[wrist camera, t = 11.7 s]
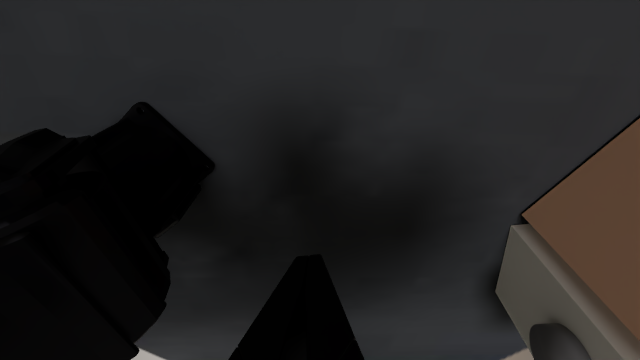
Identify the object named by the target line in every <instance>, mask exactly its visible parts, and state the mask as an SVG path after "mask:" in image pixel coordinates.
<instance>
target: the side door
mask: <svg viewBox="0 0 640 360" xmlns="http://www.w3.org/2000/svg"><path fill="white" fill-rule="evenodd" d="M522 216H523V217H524V218H525V219H526V220H527V221H528V222H529V223H530V224H531V225H532V227H533V228H534V229H535V230H536V231H537V232H538V233H539V234H540V235H541V236H542V237H543V238H544V239H545V240H546V241H547V243H548V244H549V245H550V246H551V247H552V248H553V249H554V250H555V251H556V252H557V253H558V254H559V255H560V256H561V258H562V259H563V260H564V261H565V262H566V263H567V264H568V265H569V266H570V267H571V268H572V269H573V270H574V271H575V273H576V274H577V275H578V276H579V277H580V278H581V279H582V280H583V281H584V282H585V283H586V284H587V285H588V286H589V288H590V289H591V290H592V291H593V292H594V293H595V294H596V295H597V296H598V297H599V298H600V299H601V300H602V301H603V303H604V304H605V305H606V306H607V307H608V308H609V309H610V310H611V311H612V312H613V313H614V314H615V315H616V316H617V317H618V319H619V320H620V321H621V322H622V323H623V324H624V325H625V326H626V327H627V328H628V329H629V330H630V331H631V332H632V334H633V335H634V336H635V337H636V338H637V339H638V340H639V341H640V118H639V119H638V120H637V121H636V122H634V123H633V124H632V125H631V126H630V127H628V128H627V129H626V130H625V131H623V132H622V133H621V134H620V135H619V136H617V137H616V138H615V139H614V140H612V141H611V142H610V143H609V144H607V145H606V146H605V147H604V148H603V149H601V150H600V151H599V152H598V153H596V154H595V155H594V156H593V157H592V158H590V159H589V160H588V161H587V162H585V163H584V164H583V165H582V166H581V167H579V168H578V169H577V170H576V171H574V172H573V173H572V174H571V175H569V176H568V177H567V178H566V179H565V180H563V181H562V182H561V183H560V184H558V185H557V186H556V187H555V188H554V189H552V190H551V191H550V192H549V193H547V194H546V195H545V196H544V197H543V198H541V199H540V200H539V201H538V202H536V203H535V204H534V205H533V206H532V207H530V208H529V209H528V210H527V211H525V212H524V213H523V214H522Z"/></svg>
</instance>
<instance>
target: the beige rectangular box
mask: <svg viewBox="0 0 640 360" xmlns="http://www.w3.org/2000/svg"><path fill="white" fill-rule="evenodd" d="M495 292H496V294H497V296H498V298H499V299H500V301H501V303H502V304H503V306H504V308H505V310H506V311H507V313H508V315H509V316H510V318H511V320H512V321H513V323H514V325H515V327H516V328H517V330H518V332H519V333H520V335H521V337H522V338H523V340H524V342H525V344H526V345H527V347H528V349H529V350H530V352H531V354H532V356H533V358H534V360H640V341H639V340H638V339H637V338H636V337H635V336H634V335H633V334H632V332H631V331H630V330H629V329H628V328H627V327H626V326H625V325H624V324H623V323H622V322H621V321H620V320H619V319H618V317H617V316H616V315H615V314H614V313H613V312H612V311H611V310H610V309H609V308H608V307H607V306H606V305H605V304H604V303H603V301H602V300H601V299H600V298H599V297H598V296H597V295H596V294H595V293H594V292H593V291H592V290H591V289H590V288H589V286H588V285H587V284H586V283H585V282H584V281H583V280H582V279H581V278H580V277H579V276H578V275H577V274H576V273H575V271H574V270H573V269H572V268H571V267H570V266H569V265H568V264H567V263H566V262H565V261H564V260H563V259H562V258H561V256H560V255H559V254H558V253H557V252H556V251H555V250H554V249H553V248H552V247H551V246H550V245H549V244H548V243H547V241H546V240H545V239H544V238H543V237H542V236H541V235H540V234H539V233H538V232H537V231H536V230H535V229H534V228H533V227H532V225H531V224H521V225H511V228H510V232H509V236H508V240H507V244H506V248H505V253H504V257H503V261H502V265H501V269H500V274H499V278H498V282H497V286H496V290H495Z"/></svg>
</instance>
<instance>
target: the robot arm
mask: <svg viewBox="0 0 640 360" xmlns="http://www.w3.org/2000/svg"><path fill="white" fill-rule="evenodd" d="M140 107H141V108H142V109H143V110H144V113H143V112H141V110H140ZM204 165H207V166H208V167H209V168H206V167H205V166H204ZM213 169H214V164H213V163H212V162H211V161H210V160H209V159H208V158H207V157H206V156H205V155H204V154H203V153H201V152H200V151H199V150H198V149H197V148H196V147H195V146H194V145H192V144H191V143H190V142H189V141H188V140H187V139H186V138H185V137H183V136H182V135H181V134H180V133H179V132H178V131H177V130H176V129H175V128H173V127H172V126H171V125H170V124H169V123H168V122H167V121H166V120H164V119H163V118H162V117H161V116H160V115H159V114H158V113H157V112H156V111H154V110H153V109H152V108H151V107H150V106H149V105H148V104H146V103H144V102H138V103H136V104H134V105H133V106H132V107H131V109H130V110H129V111H128V112H127V113H126V114H125V115H124V116H123V118H122V119H121V120H120V121H119V122H118V123H116V124H114V125H112V126H110V127H109V128H107V129H105V130H103V131H101V132H99V133H97V134H96V135H94V136H92V137H91V136H90V135H88V136H83V137H77V138H66V137H65V136H61V135H59V134H57V133H55V132H53V131H51V130H49V129H47V128H44V129H39V130H34V131H32V132H30V133H27V134H25V135H22V136H20V137H18V138H15V139H13V140H11V141H8V142H6V143H4V144H2V145H0V360H131V359H132V358H134V357H135V356H136V355H137V354H138V353H139V348H138V347H137V346H136V345H135V344H134V343H135V342H137V341H138V340H139V339H140V338H141V337H142V336H143V335H144V334H145V333H146V332H147V331H148V330H149V329H150V327H151V326H152V325H153V324H154V323H155V322H156V321H157V319H158V318H159V316H160V315H161V314H162V312H163V311H164V309H165V307H166V302H165V301H164V300H165V298H166V295H167V292H168V289H169V287H170V284H171V282H170V272H169V270H168V269H167V265H168V260H169V257H168V255H167V254H166V252H165V251H162V250H161V248H160V247H159V245H158V243H157V242H156V240H155V239H154V238H158V237H160V236H161V235H162V234H164V233H165V232H166V231H167V230H169V229H170V228H171V227H172V226H174V225H175V224H176V223H177V222H179V221H180V219H181V218H182V216H183V215H184V214H185V212H186V211H187V209H188V208H189V206H190V205H191V204H192V202H193V201H194V199H195V198H196V196H197V195H198V194H199V192H200V191H201V185H200V184H198V183H199V182H200V181H201V180H203V179H204V178H205V177H206V176H207V175H209V174H210V173H211V172H212V170H213ZM228 360H364V357H363V355H362V353H361V351H360V348H359V346H358V343H357V341H356V339H355V336H354V334H353V331H352V329H351V326H350V324H349V322H348V319H347V317H346V314H345V312H344V309H343V307H342V305H341V302H340V300H339V297H338V295H337V292H336V290H335V287H334V285H333V283H332V280H331V278H330V275H329V273H328V270H327V268H326V266H325V263H324V261H323V258H322V256H321V255H320V254H317V255H310V256H298V257H296V258H295V260H294V261H293V263H292V264H291V266H290V267H289V269H288V270H287V272H286V273H285V275H284V276H283V278H282V279H281V281H280V282H279V284H278V285H277V287H276V288H275V290H274V291H273V293H272V294H271V296H270V298H269V299H268V301H267V302H266V304H265V305H264V307H263V308H262V310H261V311H260V313H259V314H258V316H257V317H256V319H255V320H254V322H253V323H252V325H251V326H250V328H249V329H248V331H247V332H246V334H245V335H244V337H243V338H242V340H241V341H240V343H239V344H238V347H237V348H236V349H235V350H234V352H233V353H232V355H231V356H230V358H229V359H228Z"/></svg>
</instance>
